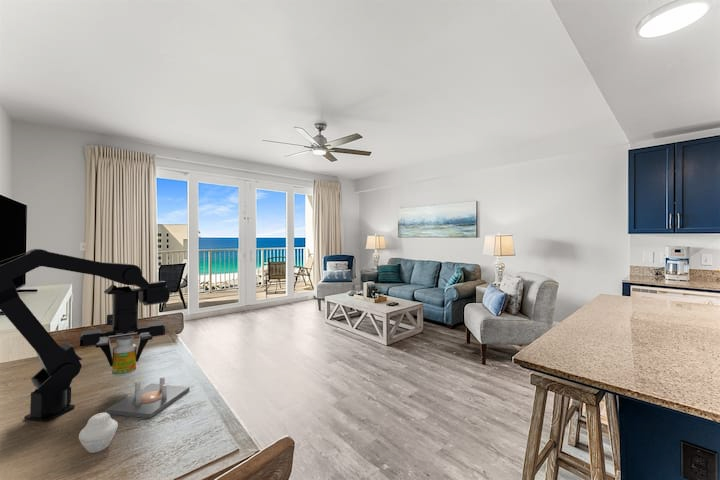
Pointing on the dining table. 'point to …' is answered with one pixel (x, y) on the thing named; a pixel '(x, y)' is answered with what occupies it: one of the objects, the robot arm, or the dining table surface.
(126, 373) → the supplement bottle
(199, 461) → the dining table surface
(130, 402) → the pin tray
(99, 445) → the white lump
